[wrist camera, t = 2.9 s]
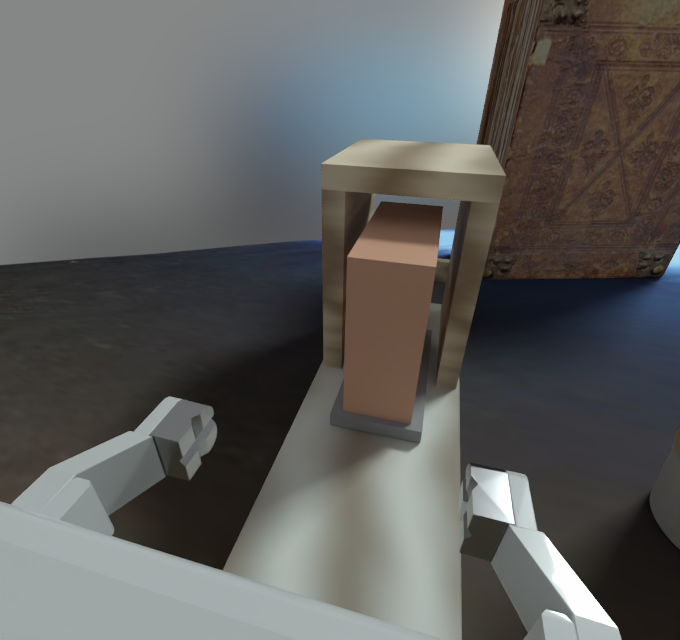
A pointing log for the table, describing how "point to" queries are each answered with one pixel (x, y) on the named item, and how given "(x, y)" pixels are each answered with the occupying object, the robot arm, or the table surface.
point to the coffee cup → (668, 494)
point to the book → (585, 139)
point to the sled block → (389, 322)
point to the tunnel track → (372, 449)
